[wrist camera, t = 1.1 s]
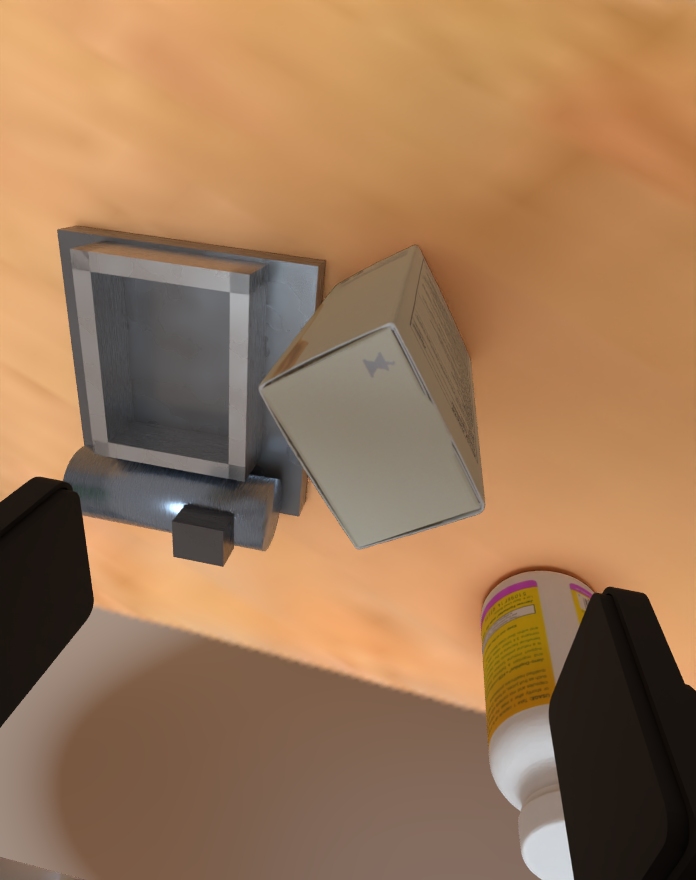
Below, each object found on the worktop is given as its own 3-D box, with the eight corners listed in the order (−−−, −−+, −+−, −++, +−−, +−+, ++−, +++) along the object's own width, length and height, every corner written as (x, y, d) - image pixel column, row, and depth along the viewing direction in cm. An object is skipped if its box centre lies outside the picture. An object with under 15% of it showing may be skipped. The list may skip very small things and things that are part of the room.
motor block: (325, 260, 26) (287, 291, 20) (304, 511, 32) (271, 589, 26) (76, 225, 27) (-27, 244, 21) (104, 474, 33) (30, 540, 27)
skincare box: (332, 285, 26) (243, 377, 15) (419, 240, 25) (388, 307, 14) (393, 404, 28) (353, 559, 17) (477, 369, 27) (489, 515, 16)
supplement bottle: (471, 643, 34) (478, 886, 23) (491, 556, 31) (510, 785, 20) (587, 664, 33) (653, 926, 22) (618, 575, 30) (714, 827, 19)
